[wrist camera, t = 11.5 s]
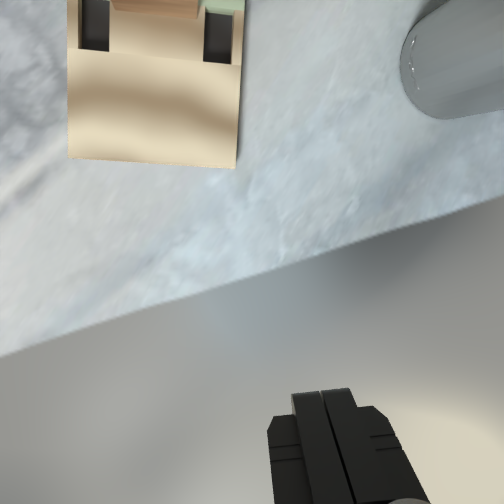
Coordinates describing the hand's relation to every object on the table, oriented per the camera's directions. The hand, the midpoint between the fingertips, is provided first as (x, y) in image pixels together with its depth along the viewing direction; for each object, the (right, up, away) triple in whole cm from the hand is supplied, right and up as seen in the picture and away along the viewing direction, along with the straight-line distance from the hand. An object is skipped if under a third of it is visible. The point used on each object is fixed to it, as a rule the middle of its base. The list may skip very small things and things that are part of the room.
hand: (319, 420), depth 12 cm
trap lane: (-9, +22, +24) cm, 33 cm away
